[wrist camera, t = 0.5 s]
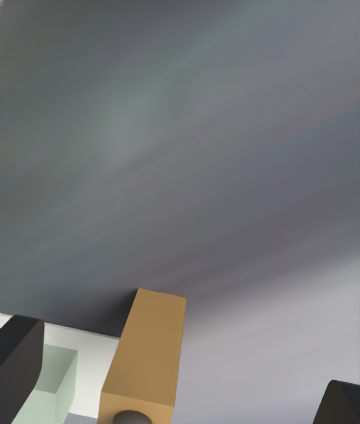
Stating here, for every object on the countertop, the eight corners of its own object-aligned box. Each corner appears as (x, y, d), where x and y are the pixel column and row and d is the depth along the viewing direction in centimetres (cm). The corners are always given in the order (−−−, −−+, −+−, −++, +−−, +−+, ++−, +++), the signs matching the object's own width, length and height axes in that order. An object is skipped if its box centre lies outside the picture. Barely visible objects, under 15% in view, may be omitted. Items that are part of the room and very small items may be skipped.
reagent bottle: (138, 288, 29) (92, 415, 18) (186, 297, 29) (171, 431, 18) (132, 326, 31) (86, 465, 19) (178, 335, 31) (159, 481, 19)
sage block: (12, 337, 32) (-21, 377, 28) (78, 350, 32) (55, 393, 28) (13, 385, 35) (-17, 430, 30) (74, 398, 35) (53, 445, 30)
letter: (-29, 307, 32) (-32, 309, 32) (123, 338, 32) (123, 341, 31) (-22, 390, 36) (-25, 393, 36) (112, 419, 36) (111, 421, 36)
